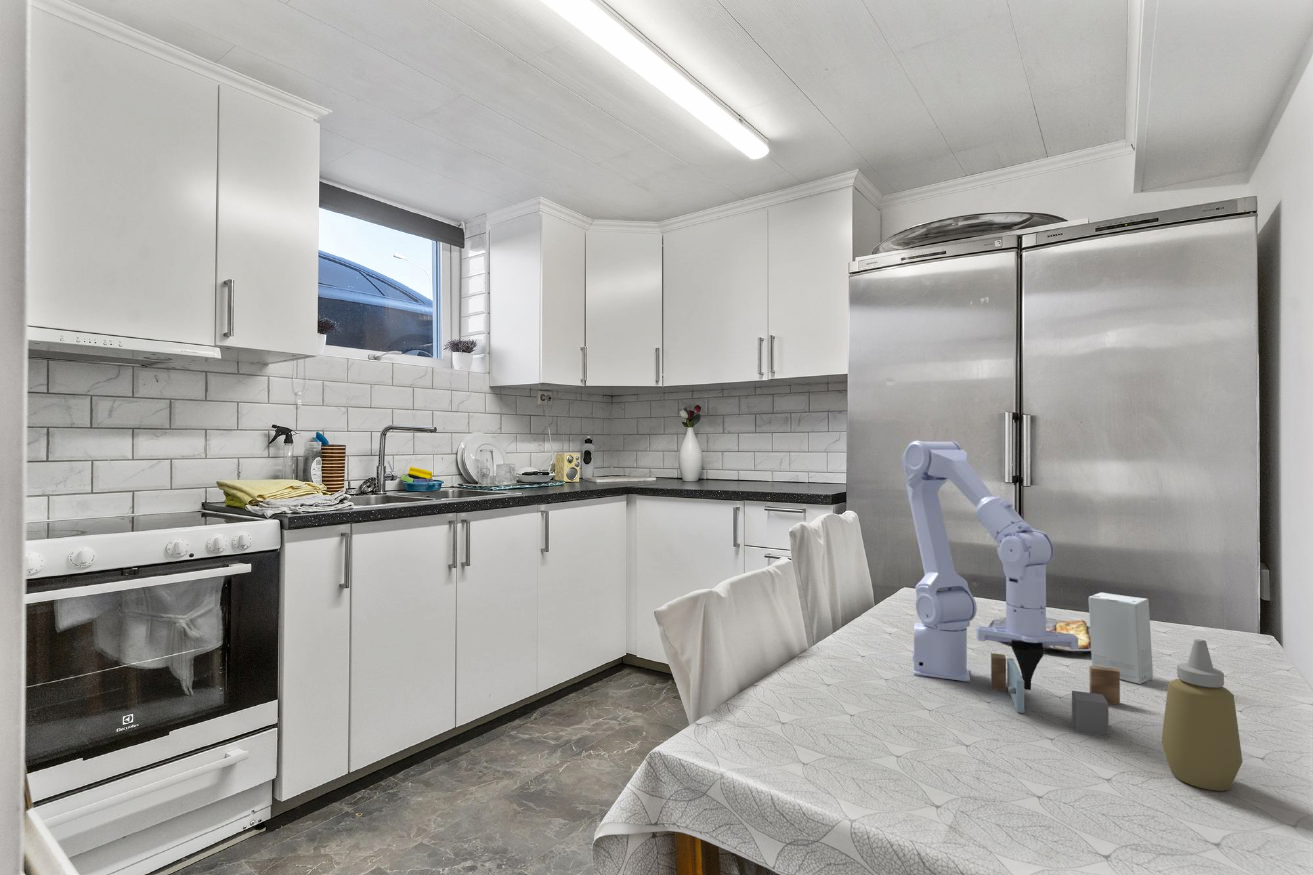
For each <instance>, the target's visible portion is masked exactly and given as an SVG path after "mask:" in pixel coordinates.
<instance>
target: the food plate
mask: <svg viewBox="0 0 1313 875" xmlns="http://www.w3.org/2000/svg"><path fill="white" fill-rule="evenodd" d="M990 622H991V623H989V626H988V627H1006V617H999V618H994V619H993V620H992V621H990ZM1046 630H1047V631H1053V632H1060V633H1067V634H1075V635H1076V636H1077V637H1078V649H1071V648H1069V647H1058V646H1047V645H1043V649H1044V650H1049V651H1055V652H1057V651H1058V652H1063V653H1072V654H1082V653H1085V652H1087V653H1088V652H1091V636H1090V626H1088V624H1087V622H1086V621H1085V620H1075V621H1074V620H1073V621H1072V620H1071V621H1065V620H1060V619H1055V618H1049V617H1046Z"/></svg>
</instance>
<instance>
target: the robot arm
mask: <svg viewBox="0 0 1313 875" xmlns="http://www.w3.org/2000/svg"><path fill="white" fill-rule="evenodd" d="M968 455H969V454H968V452H967V451H965V450H964V449H963V448H962V446H961V444H959V442H957V441H954V440H949V441H921V440H913V441H912V442H910V443H909V444H908V445H907V447H906V449H905V451H904V452H903V454H902V456H901V461H902V467H903V469H904V474H905V480H906V491H907V495H908V502H909V505H910V506H909V507H910V510H911V515H912V520H913V525H914V529H915V535H916V540H917V544H918V550H919V552H920V553H919V554H920V559H921V563H922V567H923V568H922V569H923V573H924V575H923V577H922V579H921V580H920V581H919V582H918V583H917V584H916V585H915V587H914V589H915V593H916V597H915V598H916V599H915V610H916V614H917V616H918V618H919V620H920V621H921V622H914V627H913V628H914V629H913V651H912V662H913V674H914V675H916V676H924V677H931V678H932V677H933V678H940V679H945V680H946V679H947V680H954V681H955V680H956V681H962V682H971V677H970V670H969V669H970V668H969V666H968V663H967V662H968V658H967V657H968V642H967V641H968V633H967V632H968V627H970V625H971V622H970V621H972V620H974V619H975V617H976V615H977V612H978V611H977V606H978V605H977V602H976V600H975V597H974V596H973V594H972V593H971V591H970V589H969V584H968V581H967V580H965V578H963V577H962V576H961V575H959V574H958V573H957V572H956V570H955V565H954V561H953V557H952V552H951V548H950V547H951V546H950V543H949V539H948V534H947V529H946V524H945V520H944V515H943V512H942V511H943V510H942V508H941V506H942V505H941V503H940V502H941V501H940V499H939V493H938V492H939V491H940V489H941V487H942V486H943V485H945V484H946V483H947V482H948V481H950V482H951V483H953V485H954V486H955V487H956V488H957V489H958V490H959V491H960V492H961V493H962V494H963V495H964V496H965V497H966V498H967V499H968V501H969V502H971V504H972V505H974V507H975V518H976V519H977V521H978V522H979V523H980V524H981V526H982V527H983V528H984V529H985V530H986V533H988V534H989V535H990V536H991V538H992V539H993V540H994V541H995V543H996V544H997V545H998V546H999V547H997V548H996V549H997V550H996V552H997V556H998V557H999V560H1000V561H1001V563H1002V566H1003V567H1002V568H1003V573H1004V575H1005V577H1006V578H1005V580H1006V581H1005V590H1006V591H1005V596H1006V597H1005V598H1006V599H1005V600H1006V601H1005V604H1006V605H1005V606H1006V608H1005V610H1006V611H1005V614H1006V615H1005V616H1006V617H1005V618H1006V627H989V626H981V625H979V626H976V639H977V641H979V642H986V641H991V642H1000V643H1001V642H1002V643H1009V645H1010V647H1011V649H1012V652H1013V654H1014V656H1015V658H1016V661H1017V664H1018V667H1019V669H1020V670H1019V671H1020V674H1021V676H1022V678H1023V680H1024V691H1025V690H1027V691H1031V690H1032V679H1033V677H1034V676H1033V675H1034V673H1035V670H1036V668H1037V666H1038V664H1040V663H1039V662H1040V661H1041V660H1042V658H1043V657H1044V654H1045V649H1043V645H1045V646H1048V647H1053V646H1058V647H1069V648H1071V649H1078V637H1077V636H1076V635H1075V634H1067V633H1060V632H1053V631H1047V630H1046V618H1047V589H1046V588H1047V584H1046V583H1047V577H1046V576H1047V567H1046V566H1047V565H1048V564H1050V563H1052V561H1053V558H1054V555H1055V547H1054V544H1053V542H1052V540H1051V538H1050V537H1049V535H1048V533H1046V532H1044V531H1041V530H1039V529H1038V530H1037V529H1034V528H1033V527H1032V526H1031V525H1030V524H1029V523H1028V522H1026V521H1025V519H1023V518H1022V517H1021V515H1020V514H1019V513H1018V511H1016V509H1015V508H1014V507H1013V506H1014V505H1013V503H1012V502H1011V500H1009V499H1006V498H1004V497H1002V496H1001V497H1000V496H994V495H993V493H992V492H991V491H990V489H989V488H988V487H987V485H986V484H985V483H984V481H983V480H982V479H981V478H980V476H979V475H978V473H977V472H976V470H975V469H974V468H973V467H972V466H971V464H970V463H969V456H968ZM938 589H943V590H938ZM944 589H946V590H944Z"/></svg>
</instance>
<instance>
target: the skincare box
mask: <svg viewBox="0 0 1313 875" xmlns="http://www.w3.org/2000/svg"><path fill="white" fill-rule="evenodd" d="M1149 604H1150V601H1149V598H1144V597H1136V596H1128V595H1122V594H1121V595H1120V594H1115V593H1114V594H1113V593H1107V592H1103V591H1102V592H1098V593H1095V594H1092V595H1091V596H1088V611H1089V612H1088V615H1089V627H1090V636H1091V651H1090V653H1091V666H1097V667H1105V668H1114V669H1118V670H1119V671H1120V680H1122V681H1126V682H1130V683H1134V684H1140V685H1142V684H1143V683H1145V682H1148V681H1151V680H1153V676H1154V669H1153V652H1152V650H1153V649H1152V636H1151V635H1152V634H1151V621H1150V620H1151V618H1150V605H1149Z"/></svg>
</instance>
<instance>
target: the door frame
mask: <svg viewBox="0 0 1313 875" xmlns="http://www.w3.org/2000/svg"><path fill="white" fill-rule="evenodd" d="M1120 681H1121V679H1120V671H1119V670H1118V669H1114V668H1105V667H1097V666H1092V665H1089V693H1095V694H1102V695H1103V696H1104V698H1105V699H1106V701H1107V702H1108V704H1111V705H1118V706H1120V705H1121V700H1120V699H1121V686H1120V685H1121V682H1120ZM990 685H991V688H992V689H995V690H1001V691H1007V657H1006V655H1005V654H1003V653H994V652H993V653H992V652H991V653H990Z"/></svg>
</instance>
